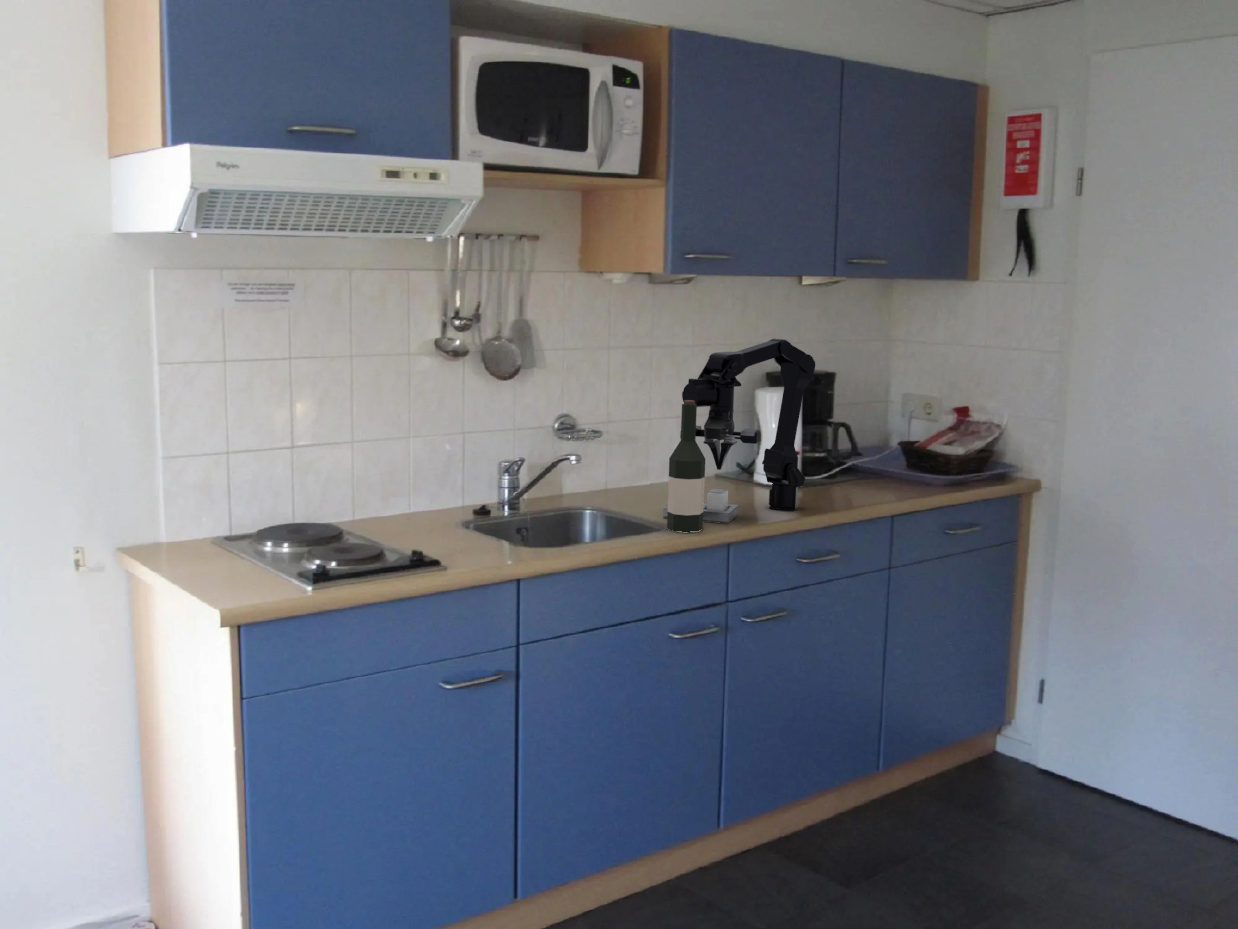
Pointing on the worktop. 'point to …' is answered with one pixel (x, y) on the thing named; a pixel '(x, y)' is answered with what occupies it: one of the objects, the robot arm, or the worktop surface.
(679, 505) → the wine bottle
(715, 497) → the plug
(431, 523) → the worktop surface
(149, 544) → the worktop surface
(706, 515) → the socket plate
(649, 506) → the worktop surface
